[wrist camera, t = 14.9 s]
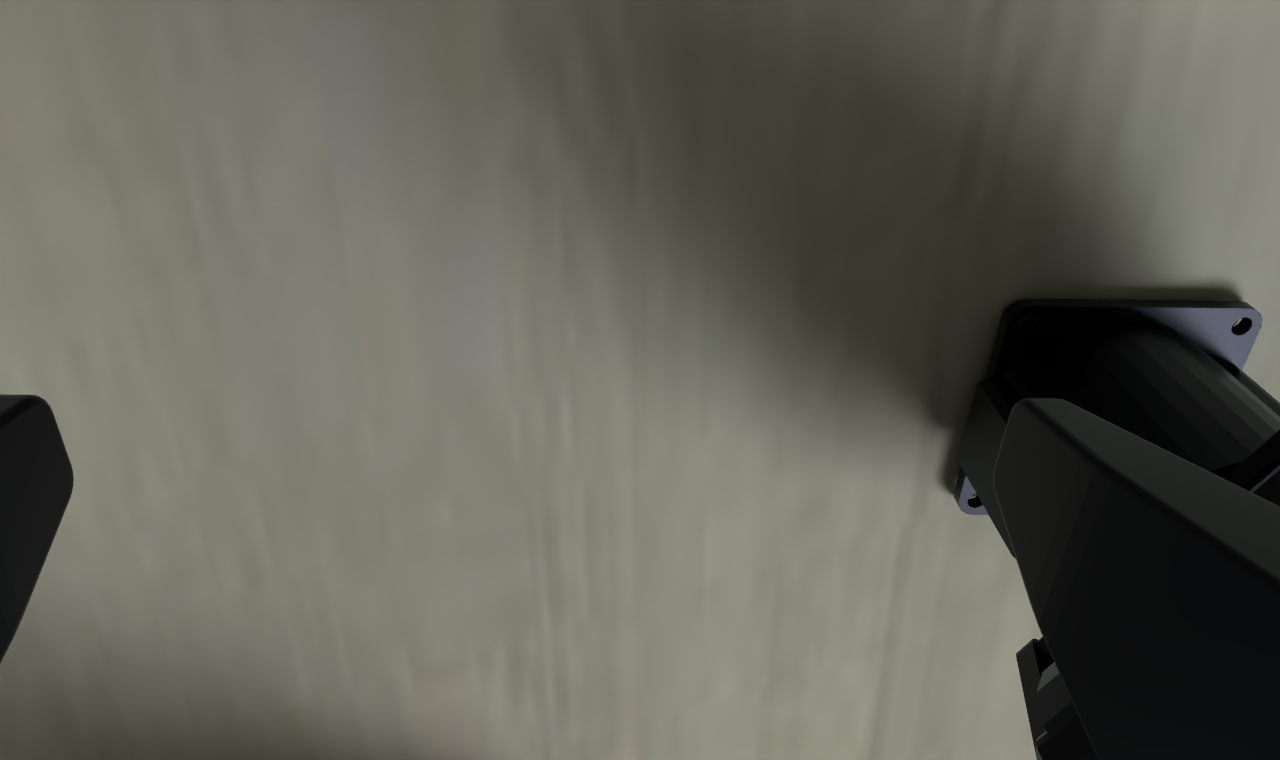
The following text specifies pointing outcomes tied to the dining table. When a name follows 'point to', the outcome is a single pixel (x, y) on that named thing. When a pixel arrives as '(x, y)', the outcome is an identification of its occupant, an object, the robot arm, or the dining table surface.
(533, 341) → the dining table surface
